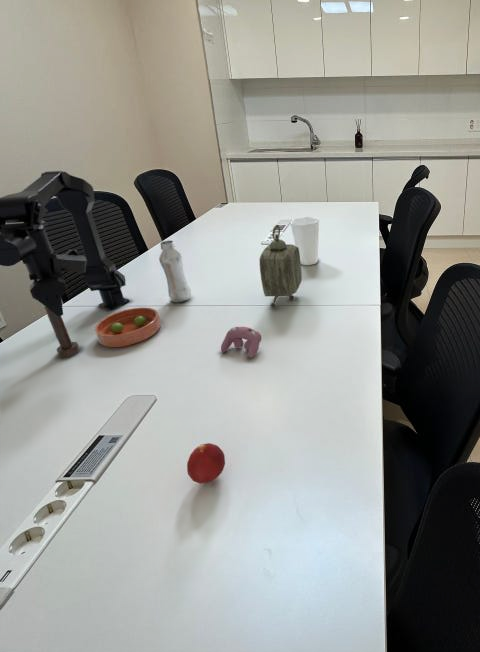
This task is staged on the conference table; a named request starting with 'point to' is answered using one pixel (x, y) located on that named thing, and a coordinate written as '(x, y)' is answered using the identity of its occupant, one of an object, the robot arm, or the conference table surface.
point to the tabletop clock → (280, 269)
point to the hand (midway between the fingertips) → (59, 308)
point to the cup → (306, 238)
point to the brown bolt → (62, 336)
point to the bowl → (128, 327)
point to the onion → (205, 463)
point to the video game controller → (237, 336)
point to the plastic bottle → (174, 272)
